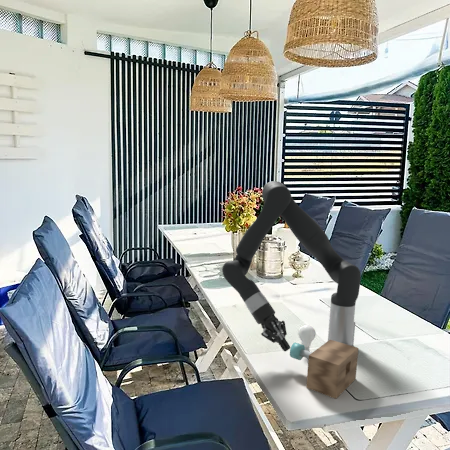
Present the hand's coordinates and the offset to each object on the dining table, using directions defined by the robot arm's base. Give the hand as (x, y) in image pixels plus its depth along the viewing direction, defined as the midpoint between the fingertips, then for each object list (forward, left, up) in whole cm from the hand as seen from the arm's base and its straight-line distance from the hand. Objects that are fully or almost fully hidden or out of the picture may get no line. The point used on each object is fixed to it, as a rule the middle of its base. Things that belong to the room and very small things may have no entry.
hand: (287, 349), depth 154 cm
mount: (-5, +15, -6) cm, 17 cm away
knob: (-3, +9, -2) cm, 10 cm away
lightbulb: (-13, -5, -7) cm, 16 cm away
